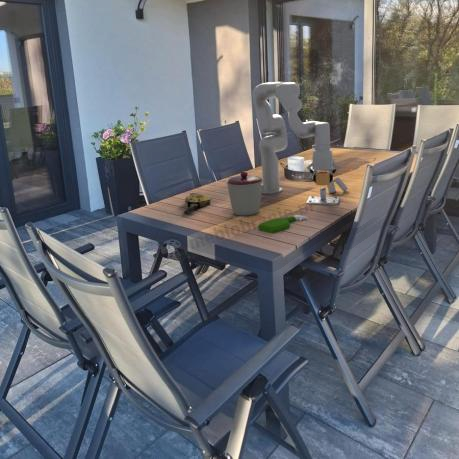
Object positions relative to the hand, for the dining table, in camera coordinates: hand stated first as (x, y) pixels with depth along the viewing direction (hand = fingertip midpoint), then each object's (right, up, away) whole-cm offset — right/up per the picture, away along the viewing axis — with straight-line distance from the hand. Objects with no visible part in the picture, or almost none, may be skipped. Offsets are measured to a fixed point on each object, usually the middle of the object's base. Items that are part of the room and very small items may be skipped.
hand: (323, 181), depth 250 cm
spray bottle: (-23, -23, -28) cm, 43 cm away
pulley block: (-66, -13, +12) cm, 68 cm away
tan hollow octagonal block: (0, -1, 0) cm, 1 cm away
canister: (-39, -16, -6) cm, 43 cm away
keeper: (+1, -10, +3) cm, 10 cm away
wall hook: (+11, -4, +20) cm, 23 cm away
